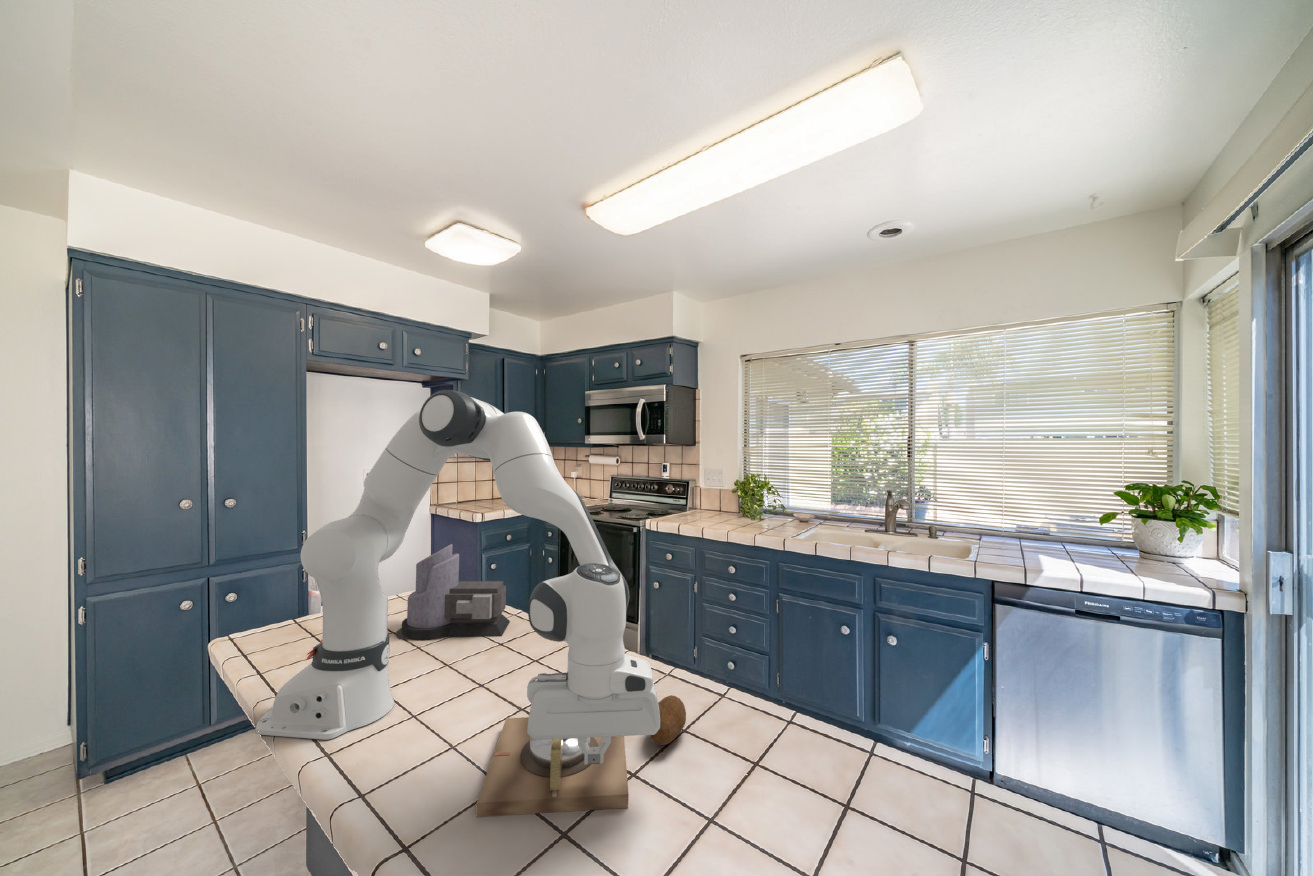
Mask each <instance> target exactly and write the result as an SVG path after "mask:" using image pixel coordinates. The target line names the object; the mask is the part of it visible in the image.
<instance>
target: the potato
mask: <svg viewBox="0 0 1313 876" xmlns="http://www.w3.org/2000/svg"><path fill="white" fill-rule="evenodd" d="M658 704H659V712H660V729H659V730H658V731H657V733H656V734H654V735H649V736H650V738H651V739H652V741H653V742H654V743H655V744H656V745H658V746H665V745H666V746H667V745H669V744H671V742H673V741H674V740H675V739H676V738H677V737H678V736H679V735H680V733H681V732H682V730H683V729H684V728H685V725H686V723H687V711H686V707H685V704H684V702H683V701H682V700H681V698H680V697H678V696H676V695H667V696H666V697H663V698H662V699H661V700H660V701H658Z"/></svg>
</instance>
